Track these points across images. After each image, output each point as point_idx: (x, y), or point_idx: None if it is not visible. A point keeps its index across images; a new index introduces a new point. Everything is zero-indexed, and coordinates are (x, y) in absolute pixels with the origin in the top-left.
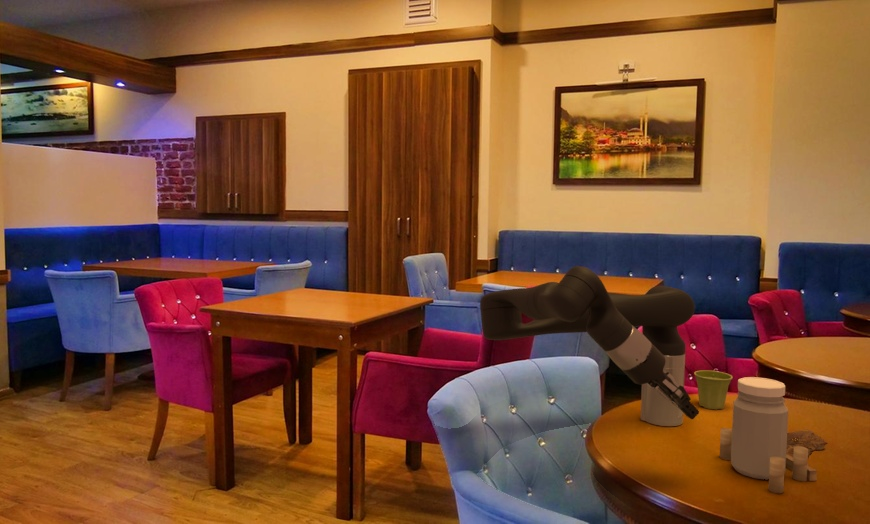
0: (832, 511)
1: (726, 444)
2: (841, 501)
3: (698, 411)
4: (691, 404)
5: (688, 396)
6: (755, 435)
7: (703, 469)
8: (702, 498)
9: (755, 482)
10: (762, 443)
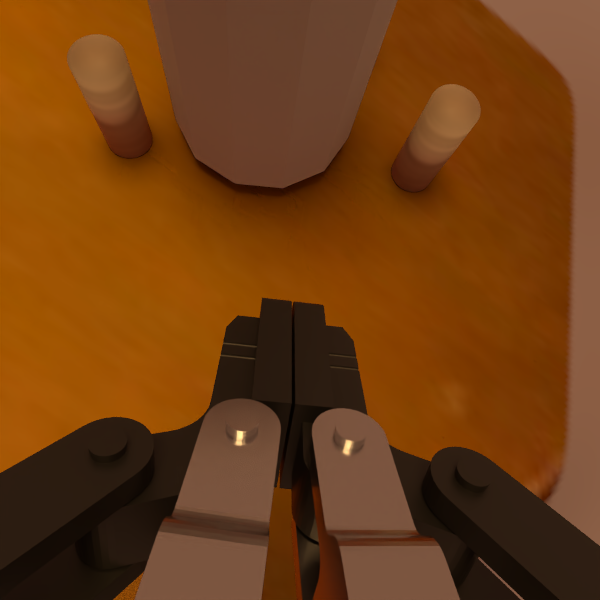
0: (547, 128)
1: (133, 113)
2: (492, 60)
3: (323, 309)
4: (327, 363)
5: (589, 546)
6: (356, 67)
7: (207, 285)
8: (438, 449)
9: (344, 188)
10: (365, 71)
